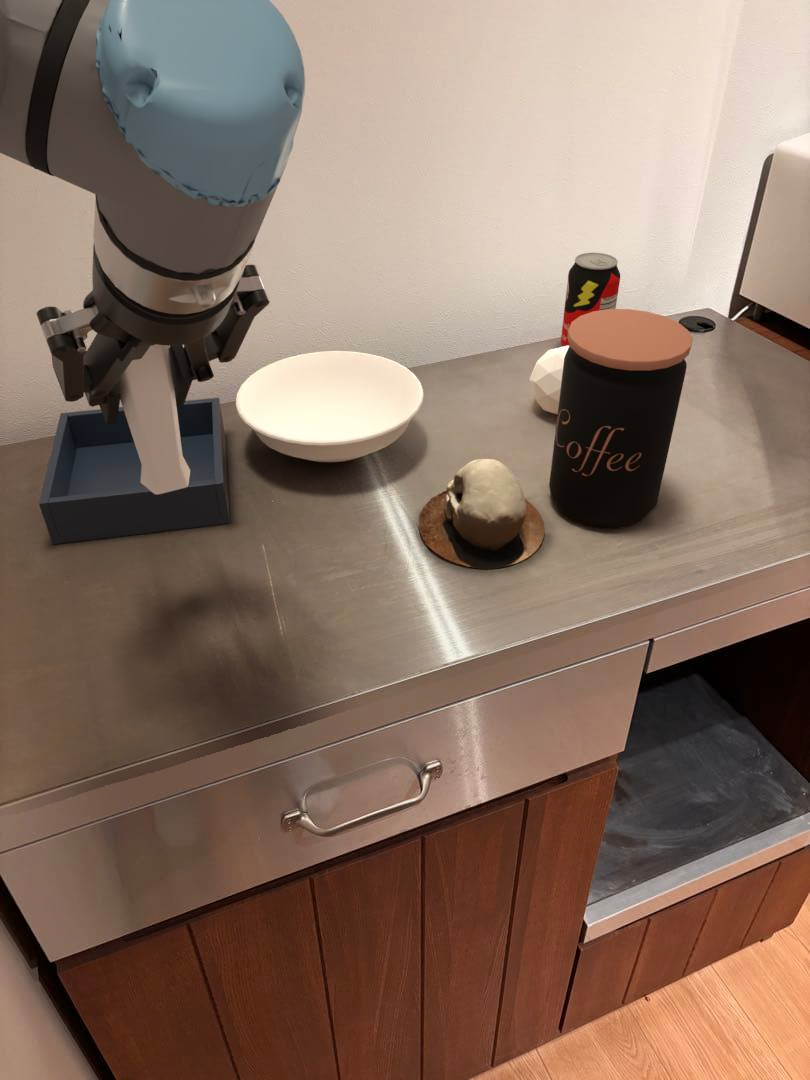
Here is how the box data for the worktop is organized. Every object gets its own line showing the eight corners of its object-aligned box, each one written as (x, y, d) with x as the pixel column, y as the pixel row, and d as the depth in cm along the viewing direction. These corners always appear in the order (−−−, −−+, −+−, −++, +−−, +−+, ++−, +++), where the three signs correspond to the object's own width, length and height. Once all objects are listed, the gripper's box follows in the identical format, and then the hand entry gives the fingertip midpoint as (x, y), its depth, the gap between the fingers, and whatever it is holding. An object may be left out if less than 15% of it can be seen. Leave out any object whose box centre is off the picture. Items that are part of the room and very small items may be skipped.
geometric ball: (540, 428, 102) (509, 369, 100) (597, 394, 102) (567, 335, 100) (562, 430, 94) (528, 366, 93) (623, 393, 95) (591, 329, 93)
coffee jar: (526, 500, 86) (542, 333, 74) (590, 459, 91) (615, 298, 80) (614, 548, 80) (647, 374, 68) (677, 501, 85) (717, 333, 74)
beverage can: (587, 336, 115) (599, 247, 107) (618, 354, 111) (633, 263, 103) (550, 346, 112) (559, 256, 105) (580, 365, 108) (592, 273, 101)
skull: (394, 494, 85) (463, 417, 81) (466, 538, 90) (533, 468, 87) (426, 567, 75) (505, 483, 72) (504, 611, 81) (580, 535, 78)
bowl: (223, 420, 98) (215, 370, 94) (383, 386, 104) (381, 337, 100) (272, 515, 84) (264, 460, 80) (453, 469, 90) (455, 417, 86)
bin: (52, 544, 81) (38, 503, 78) (71, 451, 93) (60, 413, 90) (230, 523, 83) (223, 482, 80) (225, 435, 96) (219, 397, 93)
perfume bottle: (209, 479, 66) (175, 293, 57) (159, 502, 64) (115, 312, 55) (178, 456, 69) (141, 275, 60) (129, 477, 67) (82, 292, 57)
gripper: (18, 358, 41) (38, 477, 62) (347, 284, 48) (263, 414, 69) (-36, 214, 41) (3, 381, 62) (299, 161, 48) (230, 328, 69)
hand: (139, 398), depth 66 cm, fingers closed on perfume bottle, 5 cm apart
